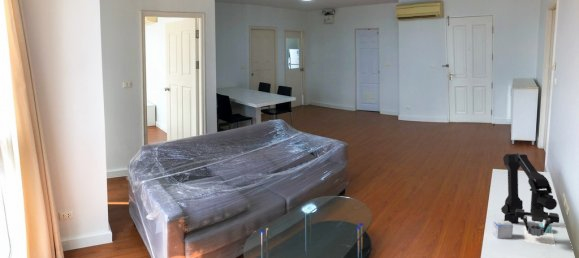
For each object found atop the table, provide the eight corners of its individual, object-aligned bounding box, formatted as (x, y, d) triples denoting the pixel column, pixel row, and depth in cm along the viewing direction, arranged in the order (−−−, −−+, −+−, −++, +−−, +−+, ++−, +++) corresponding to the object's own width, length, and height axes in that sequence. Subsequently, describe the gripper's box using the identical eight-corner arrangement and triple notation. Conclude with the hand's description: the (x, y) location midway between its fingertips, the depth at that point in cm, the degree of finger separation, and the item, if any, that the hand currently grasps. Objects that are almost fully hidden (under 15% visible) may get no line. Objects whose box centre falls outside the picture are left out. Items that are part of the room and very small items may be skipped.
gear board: (524, 243, 215) (525, 233, 214) (523, 227, 232) (524, 217, 231) (554, 248, 209) (555, 237, 208) (551, 231, 226) (552, 221, 225)
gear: (527, 234, 214) (528, 229, 213) (527, 229, 220) (527, 223, 219) (543, 237, 210) (544, 231, 210) (543, 231, 216) (543, 225, 216)
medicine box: (507, 236, 224) (508, 220, 222) (512, 239, 220) (513, 224, 218) (492, 236, 224) (493, 221, 222) (497, 240, 219) (497, 225, 218)
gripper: (516, 205, 209) (514, 235, 212) (561, 210, 201) (558, 241, 204) (516, 197, 219) (514, 226, 222) (559, 202, 210) (556, 232, 213)
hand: (535, 231), depth 215 cm, fingers closed on gear, 7 cm apart
